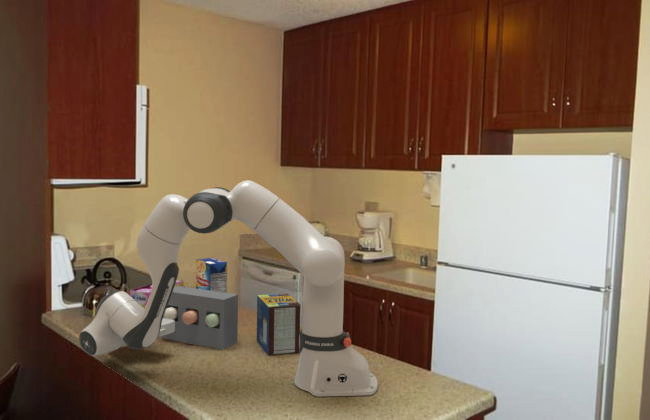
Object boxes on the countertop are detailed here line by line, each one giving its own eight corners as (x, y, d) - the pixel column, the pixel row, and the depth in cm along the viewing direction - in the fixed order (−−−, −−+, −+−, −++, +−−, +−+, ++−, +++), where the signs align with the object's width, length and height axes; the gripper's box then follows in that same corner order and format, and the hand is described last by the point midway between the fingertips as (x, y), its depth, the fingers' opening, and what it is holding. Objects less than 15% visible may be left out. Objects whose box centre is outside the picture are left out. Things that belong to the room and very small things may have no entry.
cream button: (179, 318, 185) (179, 306, 185) (171, 322, 181) (171, 309, 181) (169, 317, 186) (170, 305, 186) (161, 320, 183) (161, 308, 182)
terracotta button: (200, 322, 182) (200, 310, 181) (192, 325, 178) (192, 313, 178) (189, 320, 183) (189, 308, 183) (182, 323, 180) (182, 311, 179)
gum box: (168, 311, 219) (169, 277, 218) (186, 314, 217) (186, 279, 215) (128, 328, 196) (128, 290, 195) (148, 331, 194) (148, 292, 193)
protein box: (286, 338, 191) (287, 292, 189) (300, 353, 176) (301, 304, 175) (255, 340, 187) (256, 294, 186) (267, 356, 173) (268, 306, 171)
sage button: (223, 325, 180) (223, 312, 179) (215, 328, 176) (216, 315, 176) (212, 323, 181) (212, 311, 181) (205, 326, 177) (205, 313, 177)
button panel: (237, 342, 184) (238, 294, 183) (223, 349, 177) (224, 299, 176) (177, 332, 194) (177, 286, 192) (162, 338, 186) (162, 290, 185)
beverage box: (209, 324, 204) (210, 264, 202) (195, 317, 212) (196, 259, 211) (226, 321, 208) (227, 262, 207) (211, 314, 217) (212, 257, 215)
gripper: (157, 323, 162) (187, 312, 175) (102, 313, 170) (135, 303, 183) (157, 344, 162) (187, 332, 175) (103, 334, 171) (135, 322, 183)
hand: (160, 317), depth 179 cm, fingers closed
